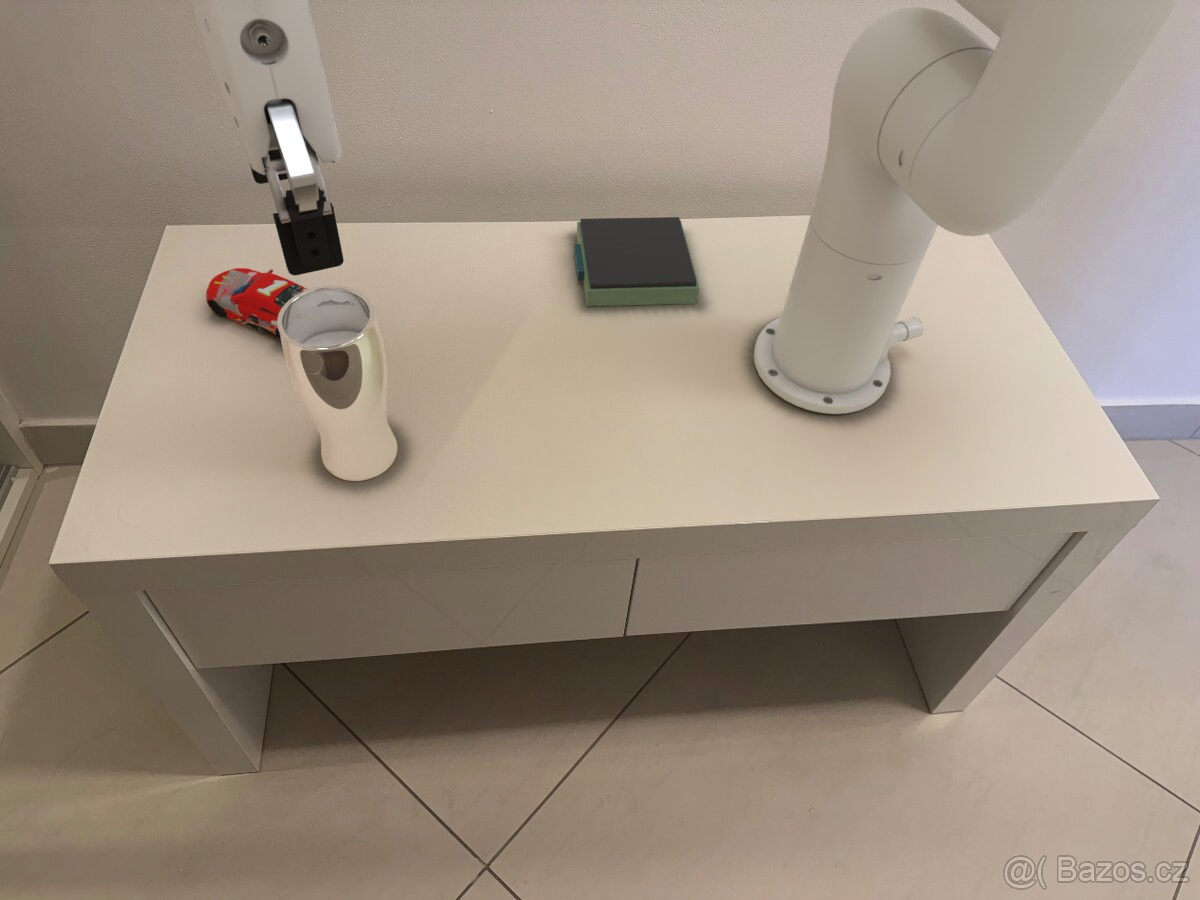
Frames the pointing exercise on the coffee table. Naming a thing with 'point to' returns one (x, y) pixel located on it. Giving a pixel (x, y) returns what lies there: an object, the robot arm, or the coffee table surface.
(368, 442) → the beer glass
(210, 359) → the coffee table surface
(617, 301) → the scale
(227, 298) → the race car
